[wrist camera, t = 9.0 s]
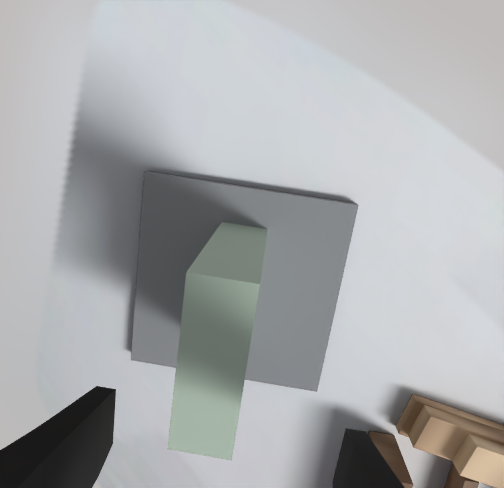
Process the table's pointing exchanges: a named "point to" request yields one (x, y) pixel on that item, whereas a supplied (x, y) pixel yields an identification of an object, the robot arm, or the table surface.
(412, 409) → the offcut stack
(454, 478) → the rack
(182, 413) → the panel
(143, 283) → the mat
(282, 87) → the table surface
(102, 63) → the table surface
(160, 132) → the table surface
